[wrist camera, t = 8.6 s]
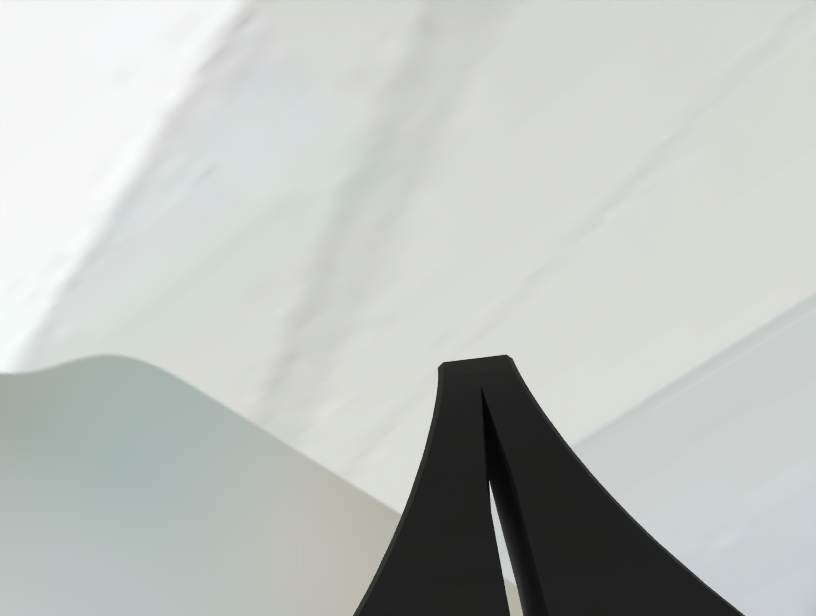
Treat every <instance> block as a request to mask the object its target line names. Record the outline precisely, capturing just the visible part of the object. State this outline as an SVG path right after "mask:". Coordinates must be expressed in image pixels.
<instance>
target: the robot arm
mask: <svg viewBox="0 0 816 616" xmlns="http://www.w3.org/2000/svg"><path fill="white" fill-rule="evenodd" d="M489 481H490V485H491V489H492V493H493V497H494V500H495V504H496V508H497V512H498V516H499V519H500V523H501V527H502V531H503V535H504V539H505V542H506V546H507V550H508V554H509V558H510V561H511V565H512V569H513V573H514V577H515V580H516V584H517V588H518V593H519V597H520V602H521V606H522V610H523V616H745V615H743V614H742V613H741V612H740V611H738V610H737V609H736V608H735V607H733V606H732V605H731V604H730V603H728V602H727V601H726V600H725V599H723V598H722V597H721V596H720V595H718V594H717V593H716V592H715V591H713V590H712V589H711V588H710V587H708V586H707V585H706V584H705V583H704V582H703V581H701V580H700V579H699V578H698V577H697V576H696V575H695V574H694V573H692V572H691V571H690V570H689V569H688V568H687V567H686V566H684V565H683V564H682V563H681V562H680V561H679V560H678V559H676V558H675V557H674V556H673V555H672V554H671V553H670V552H668V551H667V550H666V549H665V548H664V547H663V546H662V545H661V544H659V543H658V542H657V541H656V540H655V539H654V538H653V537H652V536H651V535H650V534H649V533H648V532H647V531H646V530H645V529H644V528H643V527H642V526H641V525H640V524H639V523H638V522H637V521H636V520H634V519H633V518H632V517H631V516H630V515H629V514H628V512H627V511H626V510H625V509H624V508H623V507H622V506H621V505H620V504H619V503H618V502H617V501H616V500H615V499H614V498H613V497H612V496H611V495H610V494H609V493H608V491H607V490H606V489H605V488H604V487H603V486H602V485H601V484H600V483H599V481H598V480H597V479H596V478H595V477H594V476H593V475H592V473H591V472H590V471H589V470H588V469H587V467H586V466H585V465H584V464H583V463H582V462H581V460H580V459H579V458H578V457H577V456H576V454H575V453H574V452H573V451H572V449H571V448H570V447H569V445H568V444H567V443H566V442H565V440H564V439H563V438H562V436H561V435H560V434H559V432H558V431H557V430H556V428H555V427H554V425H553V424H552V423H551V421H550V420H549V419H548V417H547V416H546V415H545V413H544V412H543V410H542V409H541V407H540V406H539V404H538V403H537V401H536V400H535V398H534V397H533V395H532V393H531V392H530V390H529V389H528V387H527V385H526V384H525V382H524V380H523V378H522V377H521V375H520V373H519V371H518V369H517V367H516V365H515V363H514V361H513V359H512V358H511V357H509V356H508V355H500V356H492V357H484V358H475V359H467V360H459V361H451V362H443V363H442V364H441V365H440V366H439V367H438V388H437V396H436V402H435V408H434V413H433V418H432V422H431V426H430V430H429V434H428V438H427V442H426V446H425V450H424V453H423V457H422V460H421V463H420V466H419V469H418V472H417V475H416V478H415V481H414V484H413V487H412V490H411V493H410V496H409V498H408V501H407V504H406V506H405V509H404V511H403V514H402V516H401V519H400V521H399V524H398V526H397V528H396V531H395V533H394V536H393V538H392V540H391V542H390V544H389V547H388V549H387V551H386V553H385V555H384V557H383V559H382V561H381V564H380V566H379V568H378V570H377V572H376V574H375V576H374V578H373V580H372V582H371V584H370V586H369V588H368V590H367V592H366V594H365V595H364V597H363V599H362V601H361V603H360V604H359V606H358V608H357V610H356V611H355V613H354V615H353V616H510V612H509V606H508V601H507V596H506V591H505V585H504V580H503V575H502V569H501V564H500V558H499V553H498V547H497V542H496V536H495V531H494V525H493V520H492V514H491V503H490V488H489Z"/></svg>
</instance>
